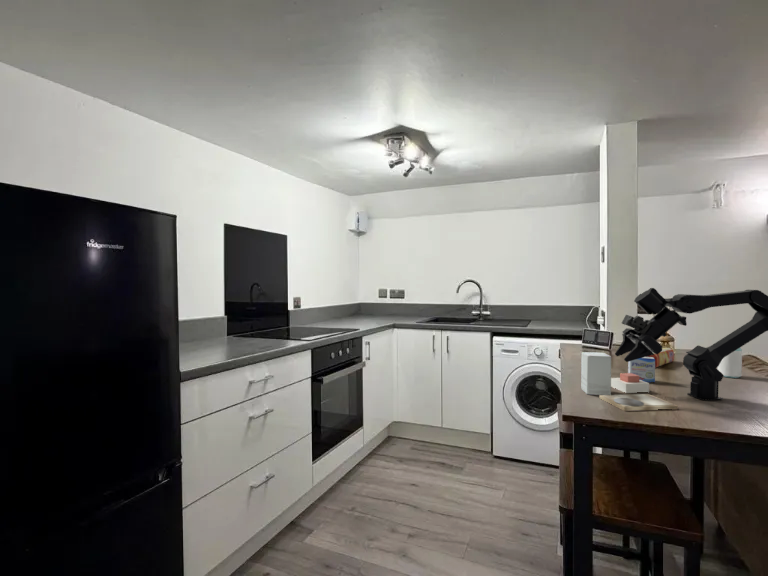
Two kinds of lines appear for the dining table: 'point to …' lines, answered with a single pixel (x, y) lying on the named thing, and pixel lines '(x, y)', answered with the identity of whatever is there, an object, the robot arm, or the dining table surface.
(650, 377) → the medicine box
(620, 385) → the button housing
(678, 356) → the dining table surface
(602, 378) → the supplement box
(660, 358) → the snack package
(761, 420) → the dining table surface
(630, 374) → the button
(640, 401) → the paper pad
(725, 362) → the can
